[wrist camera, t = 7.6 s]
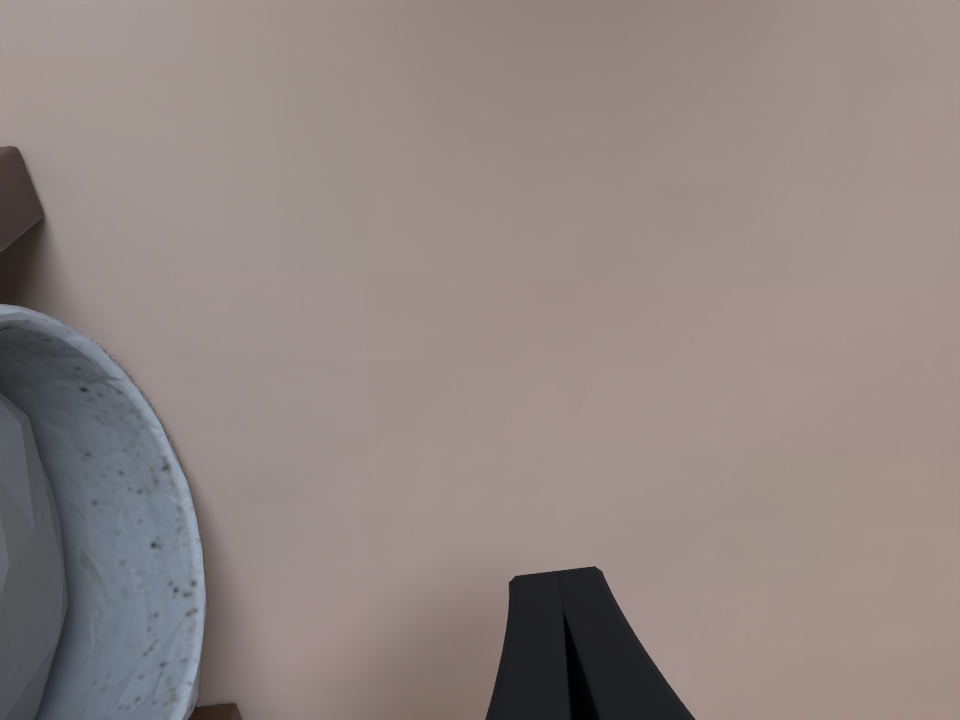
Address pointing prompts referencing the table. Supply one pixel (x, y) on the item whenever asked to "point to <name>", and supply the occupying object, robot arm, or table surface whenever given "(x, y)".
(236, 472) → the table surface
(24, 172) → the frame
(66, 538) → the ceramic mug
